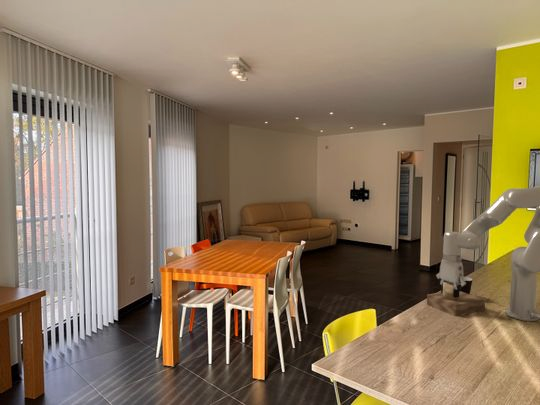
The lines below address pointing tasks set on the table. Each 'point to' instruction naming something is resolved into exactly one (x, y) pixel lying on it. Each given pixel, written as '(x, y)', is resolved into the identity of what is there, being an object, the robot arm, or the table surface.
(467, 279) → the coffee mug
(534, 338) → the table surface
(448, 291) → the peg
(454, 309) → the board
